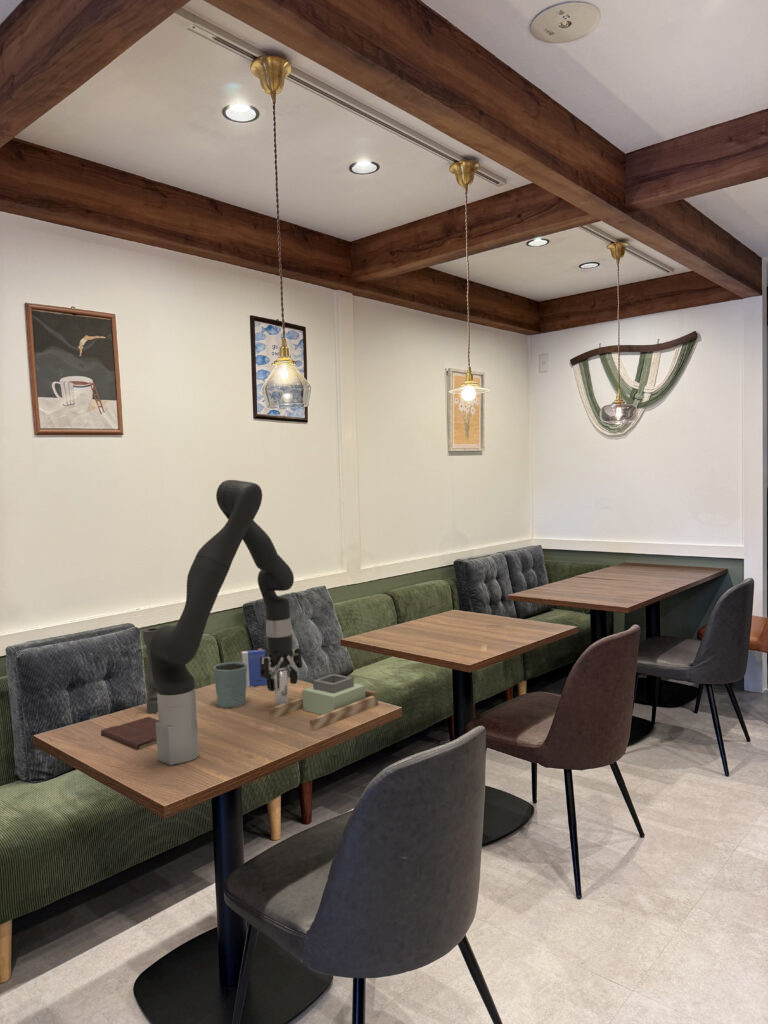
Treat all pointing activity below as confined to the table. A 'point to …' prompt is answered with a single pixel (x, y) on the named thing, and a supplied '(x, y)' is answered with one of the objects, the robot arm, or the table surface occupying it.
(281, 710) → the bay
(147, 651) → the candle holder
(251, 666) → the walkman
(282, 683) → the handle
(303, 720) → the table surface
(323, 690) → the green stepped block
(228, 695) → the teal cup
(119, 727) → the notebook
